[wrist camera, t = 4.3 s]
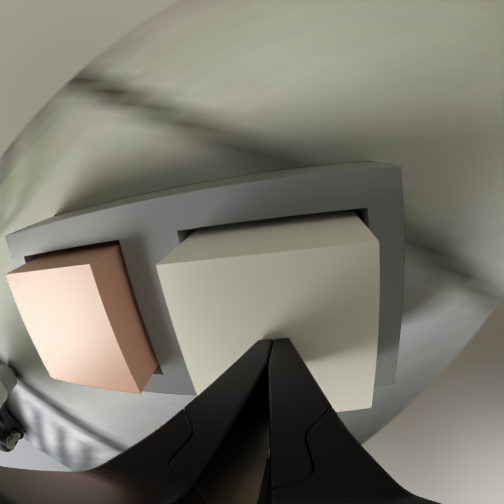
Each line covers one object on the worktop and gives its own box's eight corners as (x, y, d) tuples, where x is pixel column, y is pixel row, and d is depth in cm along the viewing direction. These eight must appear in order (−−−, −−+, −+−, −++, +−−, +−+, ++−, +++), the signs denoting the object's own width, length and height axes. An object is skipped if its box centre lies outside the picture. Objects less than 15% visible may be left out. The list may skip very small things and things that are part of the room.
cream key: (354, 334, 13) (371, 407, 8) (229, 344, 14) (204, 414, 9) (349, 206, 11) (378, 241, 7) (203, 224, 12) (155, 265, 8)
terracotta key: (176, 336, 15) (140, 393, 11) (93, 334, 16) (51, 378, 12) (146, 229, 13) (89, 263, 9) (62, 244, 14) (5, 274, 10)
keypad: (376, 332, 15) (393, 383, 11) (95, 342, 18) (62, 378, 14) (370, 160, 12) (400, 166, 8) (53, 216, 15) (5, 235, 12)
